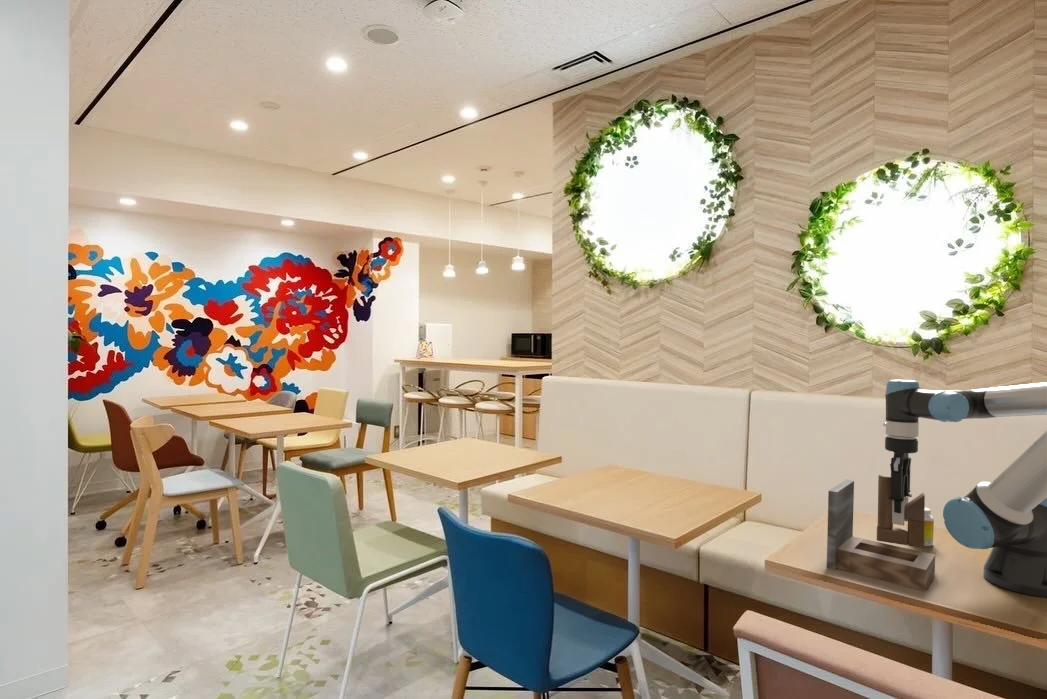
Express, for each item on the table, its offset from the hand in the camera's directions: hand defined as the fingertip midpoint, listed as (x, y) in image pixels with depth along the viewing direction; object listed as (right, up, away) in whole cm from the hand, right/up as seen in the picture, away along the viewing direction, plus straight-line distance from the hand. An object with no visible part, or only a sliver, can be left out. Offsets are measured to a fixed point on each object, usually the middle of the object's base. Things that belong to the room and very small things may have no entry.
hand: (900, 522), depth 159 cm
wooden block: (0, -6, 0) cm, 6 cm away
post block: (-10, -9, -10) cm, 18 cm away
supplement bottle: (+12, -9, +9) cm, 18 cm away
